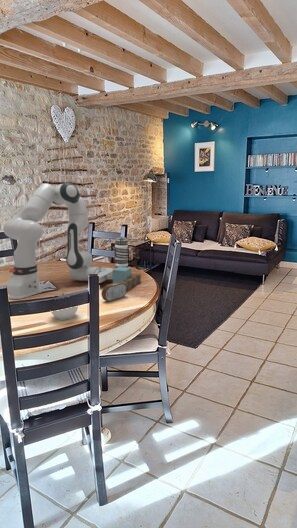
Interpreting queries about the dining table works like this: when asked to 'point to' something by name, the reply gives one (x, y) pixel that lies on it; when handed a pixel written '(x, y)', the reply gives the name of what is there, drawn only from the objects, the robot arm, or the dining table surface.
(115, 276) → the slate block
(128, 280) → the walnut board
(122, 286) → the oval wooden speaker
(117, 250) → the decorative candle
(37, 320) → the dining table surface
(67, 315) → the lidded bowl
